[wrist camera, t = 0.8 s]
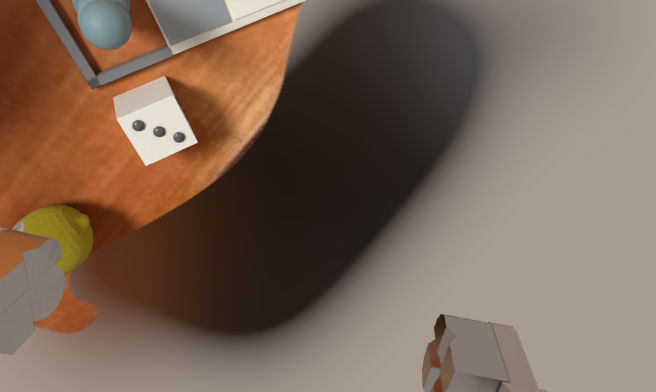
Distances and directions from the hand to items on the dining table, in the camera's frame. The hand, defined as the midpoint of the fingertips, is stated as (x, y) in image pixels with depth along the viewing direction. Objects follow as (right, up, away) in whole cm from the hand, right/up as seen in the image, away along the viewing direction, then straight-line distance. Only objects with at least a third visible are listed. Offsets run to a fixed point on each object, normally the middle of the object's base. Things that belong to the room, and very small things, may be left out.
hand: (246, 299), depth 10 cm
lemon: (-31, -1, +46) cm, 56 cm away
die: (-18, +12, +44) cm, 49 cm away
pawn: (-20, +22, +36) cm, 47 cm away
